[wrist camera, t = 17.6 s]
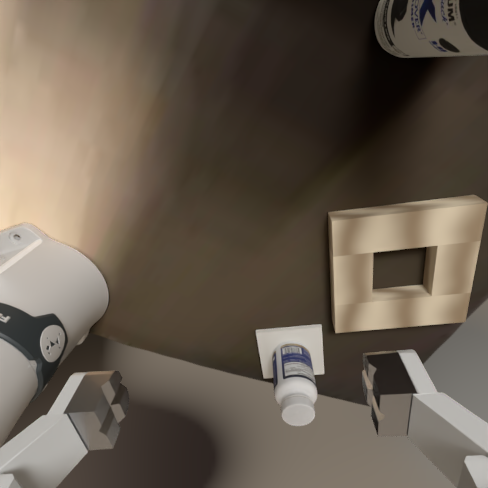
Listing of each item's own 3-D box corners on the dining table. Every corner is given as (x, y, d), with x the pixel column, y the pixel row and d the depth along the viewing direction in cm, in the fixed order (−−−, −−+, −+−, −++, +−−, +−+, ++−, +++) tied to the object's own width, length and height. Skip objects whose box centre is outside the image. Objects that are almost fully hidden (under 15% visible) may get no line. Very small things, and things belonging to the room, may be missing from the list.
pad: (263, 375, 53) (263, 378, 52) (255, 330, 48) (255, 332, 48) (323, 370, 52) (324, 374, 51) (320, 324, 48) (321, 327, 47)
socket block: (331, 320, 47) (335, 333, 45) (327, 212, 40) (331, 221, 38) (455, 309, 46) (465, 321, 43) (474, 194, 38) (487, 202, 36)
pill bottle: (291, 373, 51) (298, 436, 43) (264, 355, 50) (265, 416, 41) (318, 352, 49) (330, 414, 41) (290, 333, 48) (297, 393, 39)
